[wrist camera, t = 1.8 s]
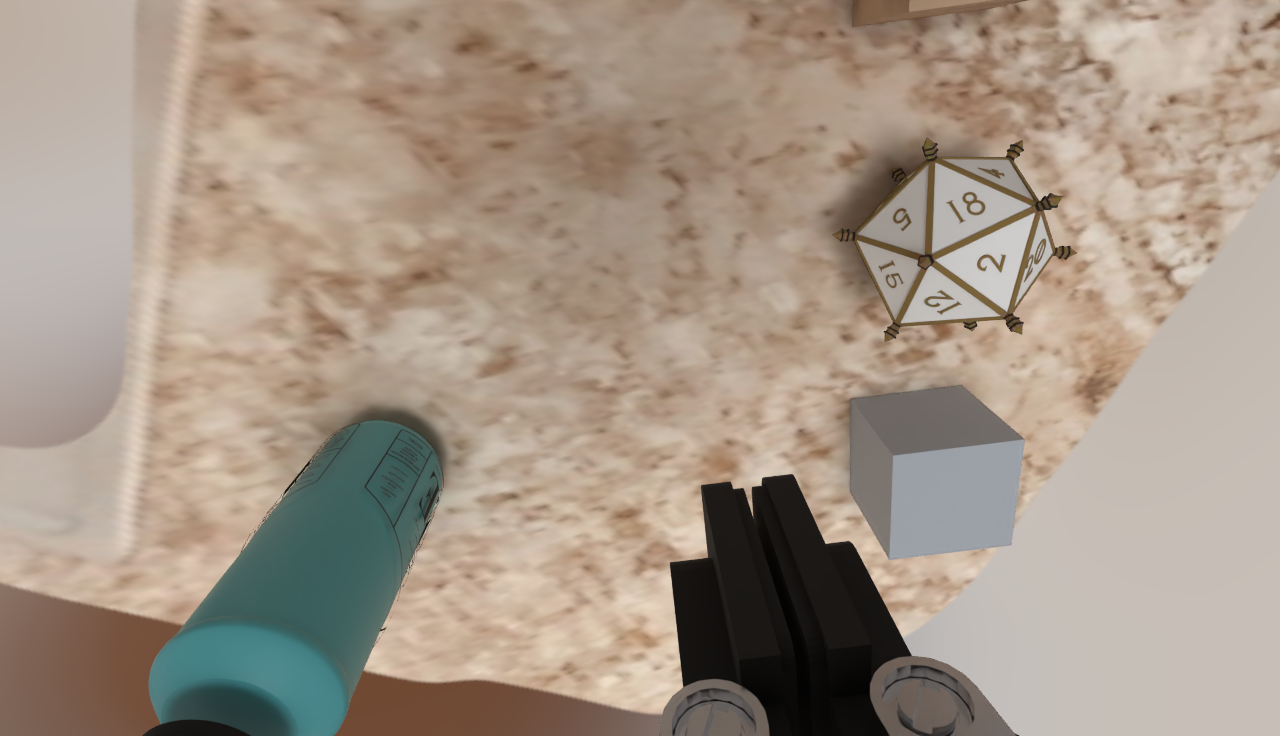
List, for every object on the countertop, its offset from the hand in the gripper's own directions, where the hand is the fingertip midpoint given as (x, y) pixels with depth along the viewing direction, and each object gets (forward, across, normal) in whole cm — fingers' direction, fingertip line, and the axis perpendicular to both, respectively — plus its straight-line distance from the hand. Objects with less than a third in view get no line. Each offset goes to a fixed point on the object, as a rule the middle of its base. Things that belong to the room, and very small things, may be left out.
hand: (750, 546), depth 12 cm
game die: (+22, -12, 0) cm, 25 cm away
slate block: (+22, -12, +12) cm, 28 cm away
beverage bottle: (+22, +16, +9) cm, 28 cm away
